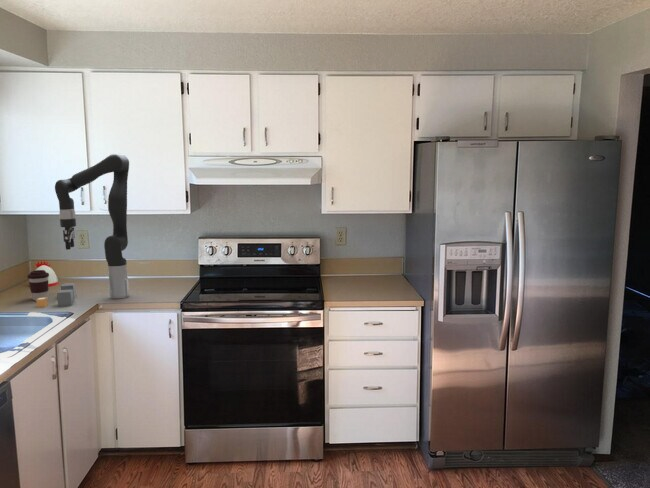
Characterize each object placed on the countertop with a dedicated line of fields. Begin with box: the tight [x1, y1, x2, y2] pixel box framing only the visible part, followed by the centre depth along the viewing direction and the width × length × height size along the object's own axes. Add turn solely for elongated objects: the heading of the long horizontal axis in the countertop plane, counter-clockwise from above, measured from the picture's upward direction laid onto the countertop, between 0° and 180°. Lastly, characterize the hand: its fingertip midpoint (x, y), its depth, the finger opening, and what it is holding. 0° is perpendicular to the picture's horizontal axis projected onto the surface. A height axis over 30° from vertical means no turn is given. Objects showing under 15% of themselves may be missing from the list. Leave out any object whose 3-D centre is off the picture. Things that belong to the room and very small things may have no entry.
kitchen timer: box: [34, 259, 59, 288], centre depth 311 cm, size 14×14×15 cm
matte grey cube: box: [57, 289, 75, 307], centre depth 266 cm, size 6×6×7 cm
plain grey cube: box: [60, 282, 77, 299], centre depth 281 cm, size 6×6×7 cm
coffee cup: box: [26, 269, 49, 301], centre depth 277 cm, size 10×10×15 cm
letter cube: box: [36, 297, 49, 308], centre depth 264 cm, size 4×4×4 cm
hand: (70, 248), depth 280 cm, fingers open, 8 cm apart
